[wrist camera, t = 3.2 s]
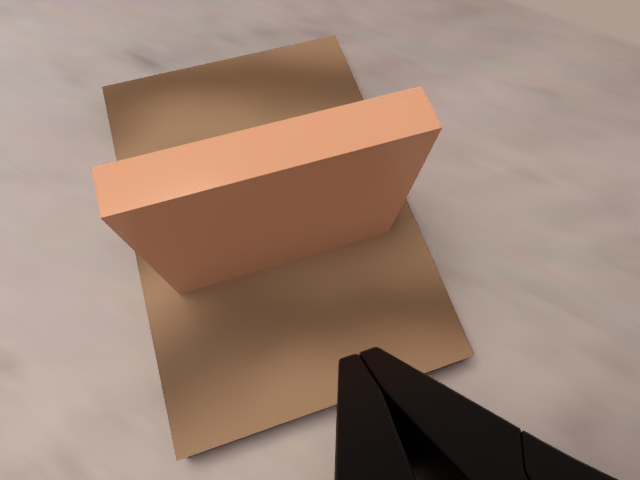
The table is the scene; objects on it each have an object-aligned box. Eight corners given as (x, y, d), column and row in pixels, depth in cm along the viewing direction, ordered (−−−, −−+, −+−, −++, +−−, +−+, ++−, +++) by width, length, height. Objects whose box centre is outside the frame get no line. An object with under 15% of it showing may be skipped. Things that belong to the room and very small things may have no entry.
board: (462, 359, 21) (474, 355, 19) (185, 456, 19) (176, 460, 17) (333, 54, 27) (335, 35, 25) (113, 105, 25) (102, 86, 24)
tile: (388, 232, 21) (442, 127, 13) (179, 294, 20) (100, 217, 12) (375, 201, 22) (420, 83, 14) (171, 259, 20) (91, 164, 12)
